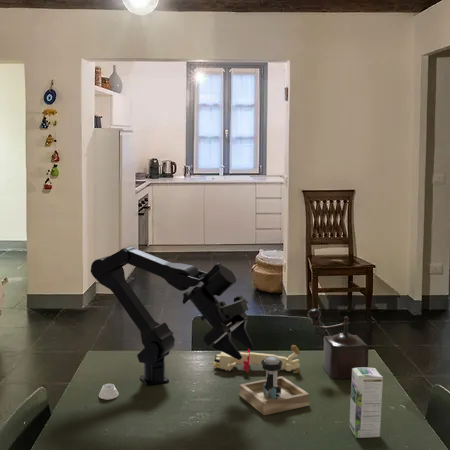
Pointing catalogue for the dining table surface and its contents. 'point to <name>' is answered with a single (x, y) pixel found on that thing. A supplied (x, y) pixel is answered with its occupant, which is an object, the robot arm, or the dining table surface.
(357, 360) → the manual coffee grinder
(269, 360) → the push button
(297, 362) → the cat figure
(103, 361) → the dining table surface
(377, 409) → the syrup box
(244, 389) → the oak tray
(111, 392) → the small white bowl
